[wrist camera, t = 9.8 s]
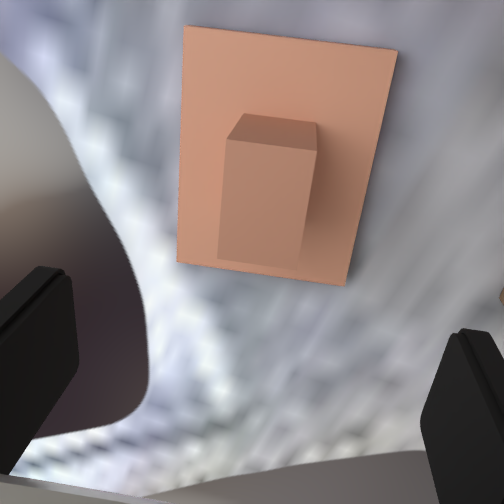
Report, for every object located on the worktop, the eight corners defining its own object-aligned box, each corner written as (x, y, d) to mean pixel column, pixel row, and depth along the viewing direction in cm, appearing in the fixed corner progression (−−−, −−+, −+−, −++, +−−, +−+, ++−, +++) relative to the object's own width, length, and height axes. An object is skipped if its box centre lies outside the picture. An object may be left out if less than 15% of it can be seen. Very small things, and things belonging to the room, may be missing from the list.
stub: (394, 49, 25) (423, 62, 18) (343, 276, 31) (351, 345, 25) (189, 25, 25) (147, 29, 19) (181, 253, 32) (148, 314, 25)
